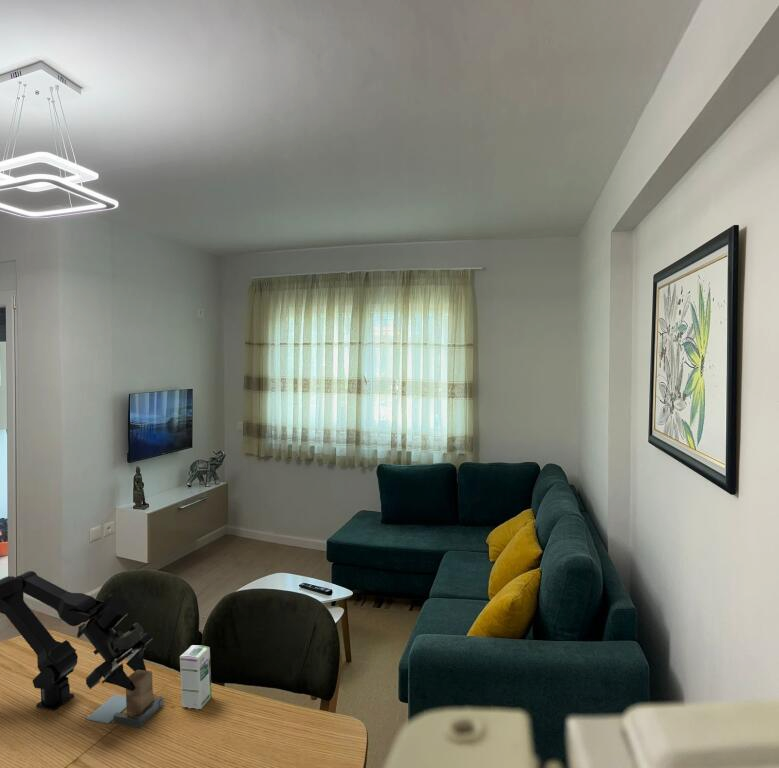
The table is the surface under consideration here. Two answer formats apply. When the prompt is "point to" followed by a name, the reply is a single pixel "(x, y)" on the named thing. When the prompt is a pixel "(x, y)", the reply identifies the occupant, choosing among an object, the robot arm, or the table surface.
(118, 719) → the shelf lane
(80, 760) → the table surface
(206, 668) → the syrup box
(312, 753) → the table surface
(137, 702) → the walnut block
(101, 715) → the mat
